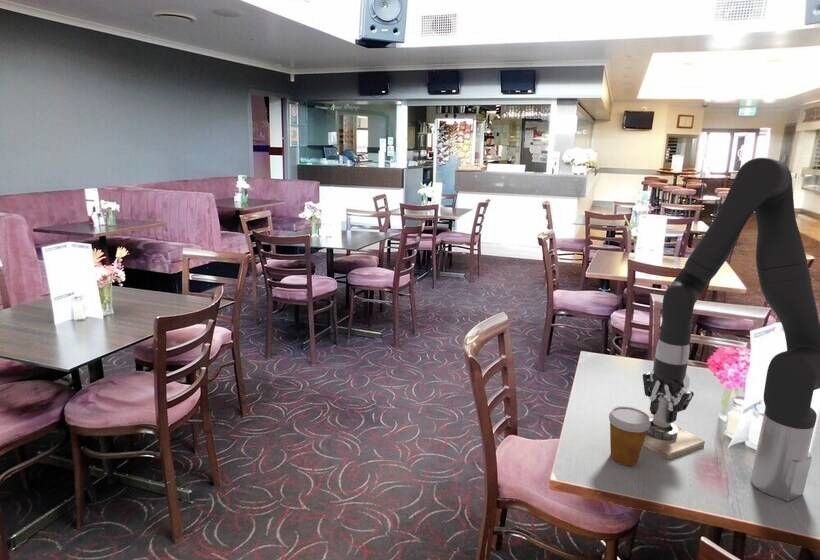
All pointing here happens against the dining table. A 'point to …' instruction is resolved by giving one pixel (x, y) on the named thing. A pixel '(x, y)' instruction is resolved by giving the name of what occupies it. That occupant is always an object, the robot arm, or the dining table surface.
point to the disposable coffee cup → (627, 434)
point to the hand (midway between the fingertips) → (662, 417)
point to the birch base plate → (673, 443)
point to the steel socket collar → (663, 435)
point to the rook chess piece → (661, 413)
